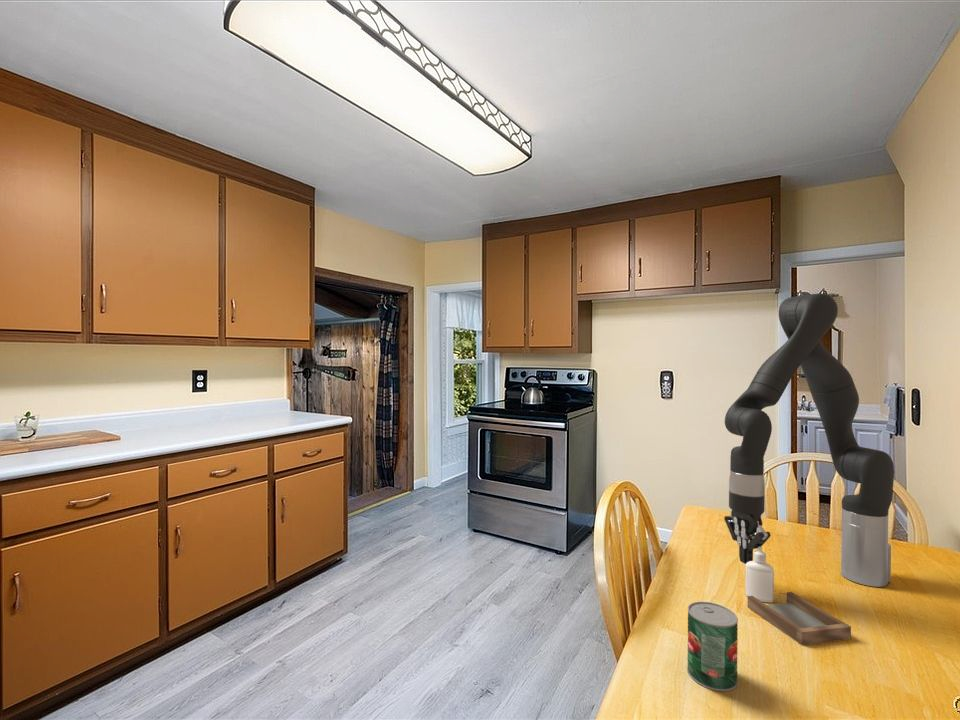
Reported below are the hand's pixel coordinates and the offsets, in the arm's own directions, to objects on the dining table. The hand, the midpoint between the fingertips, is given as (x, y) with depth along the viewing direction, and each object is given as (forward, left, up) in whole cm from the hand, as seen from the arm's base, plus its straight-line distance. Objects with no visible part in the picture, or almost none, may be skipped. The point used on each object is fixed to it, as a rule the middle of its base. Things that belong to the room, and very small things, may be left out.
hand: (745, 562), depth 114 cm
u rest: (0, +14, -6) cm, 15 cm away
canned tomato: (+29, +26, -7) cm, 40 cm away
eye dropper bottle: (0, +4, -7) cm, 8 cm away
